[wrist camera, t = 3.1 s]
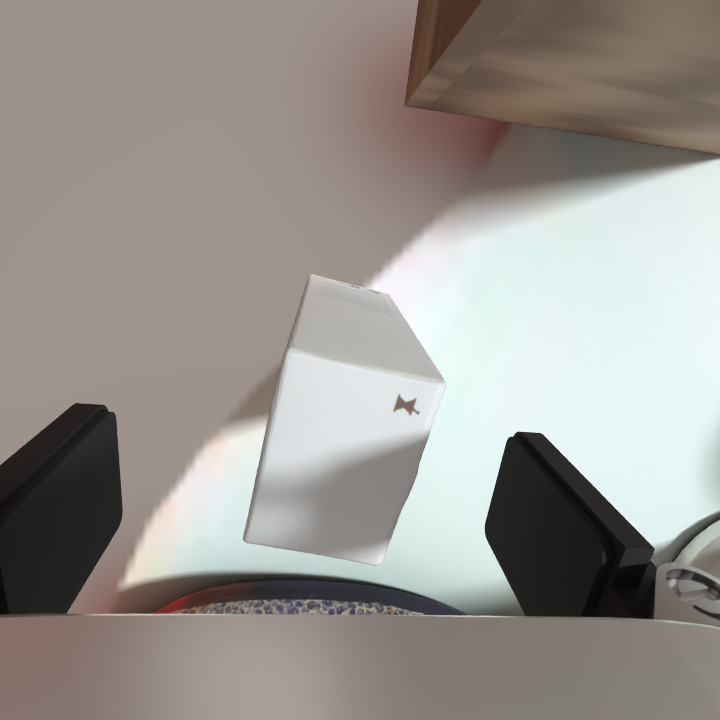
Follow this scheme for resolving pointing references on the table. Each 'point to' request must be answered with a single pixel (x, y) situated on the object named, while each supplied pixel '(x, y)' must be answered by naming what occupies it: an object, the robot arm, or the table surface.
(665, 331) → the table surface
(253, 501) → the skincare box
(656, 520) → the table surface
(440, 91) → the slot box
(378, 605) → the dish
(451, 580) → the table surface
